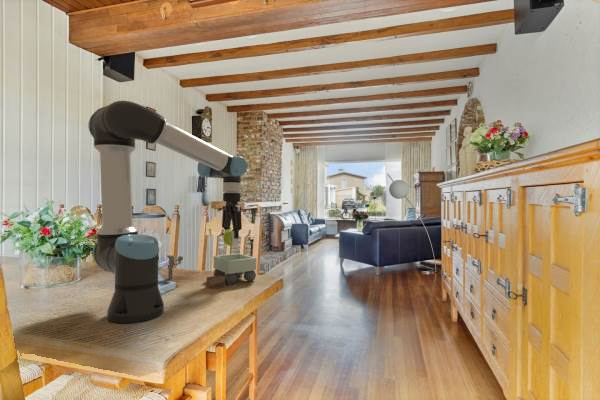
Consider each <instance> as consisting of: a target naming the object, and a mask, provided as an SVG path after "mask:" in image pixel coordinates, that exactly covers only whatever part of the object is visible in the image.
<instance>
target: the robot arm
mask: <svg viewBox="0 0 600 400" xmlns="http://www.w3.org/2000/svg"><path fill="white" fill-rule="evenodd" d="M88 131H89V133H90V135H91V137H92V138H93V147H94V149H95V150H97V151H98V152H99V162H100V163H99V165H100V167H99V168H100V188H101V189H100V191H101V192H100V193H101V196H100V197H101V198H100V199H101V223H102V227H101V228H100V229H99V230H98V231H97V232H96V239H97V240H96V243H95V244H94V246H93V249H92V257H93V260H94V262H95V264H96V265H97V266H98V267H99V268H100V269H102V270H104V272H108V273H112V274H114V291H113V294H112V297H111V300H110V303H109V305H108V307H107V311H106V312H107V313H106V314H107V316H106V317H107V320H108V321H109V322H111V323H116V324H131V323H132V324H133V323H134V324H135V323H140V322H144V321H145V322H146V321H148V320H152V319H155V318H157V317H160V316H161V315H162V314H163V313H164V311H165V308H164V307H165V304H164V300H163V297H162V294H161V291H160V288H159V263H160V260H159V256H160V254H159V253H160V247H159V240H158V239H157V238H156V237H154V236H153V235H147V234H146V235H145V234H139V233H138V229H136V227H135V226H134V225H133V205H132V204H133V203H132V202H133V201H132V200H133V199H132V171H131V154H132V153H133V152H135V150H136V140H137V141H138V140H139V141H143V142H146V143H148V144H150V145H154V144H159V145H160V146H163V147H165V148H166V149H169V150H171V151H174V152H175V153H178V154H180V155H183V156H184V157H187V158H189V159H191V160H194V161H196V162H198V163H197V167H196V168H197V169H196V170H197V173H198V175H199V176H200V177H203V178H207V179H208V178H213V179H222V192H223V193H222V201H223V202H225V205H222V216H221V217H222V221H221V227H222V229H223V230H224V234H223V236H224V235H225V233H226V232H228V231H232V246H231V247H239V244H240V243H239V240H240V235H239V232H240V230H241V231H242V228H243V226H242V225H243V224H242V210H243V209H242V206H240V205H238V203H239V202H241V187H242V186H241V181H242V179H241V178H242V177H241V176H244V175H245V174H246V173H247V170H248V162H247V160H246V158H244V157H243V156H239V155H235V156H233V155H232V154H229V153H227V152H226V151H224V150H221V149H219V148H218V147H216V146H214V145H212V144H210V143H208V142H206V141H204V140H202V139H200V138H198V137H197V136H195V135H192V134H191V133H189V132H187V131H186V130H183V129H181V128H179V127H177V126H175V125H174V124H172V123H170V122H168V121H167V120H166V117H165V116H163V115H162V114H159V113H158V112H157V111H154V110H153V109H152V110H151V109H150V108H148V107H146V106H144V105H141V104H139V103H137V102H133V101H131V100H130V101H129V100H117V101H113V102H112V103H110V104H108V105H106V106H103V107H100V108H98V109H96V111H94V112H93V113H92V115H91V116H90V117H89V120H88ZM231 224H232V228H231ZM223 242H224V241H223ZM223 244H224V245H227V244H226V243H225V242H224V243H223Z"/></svg>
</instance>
